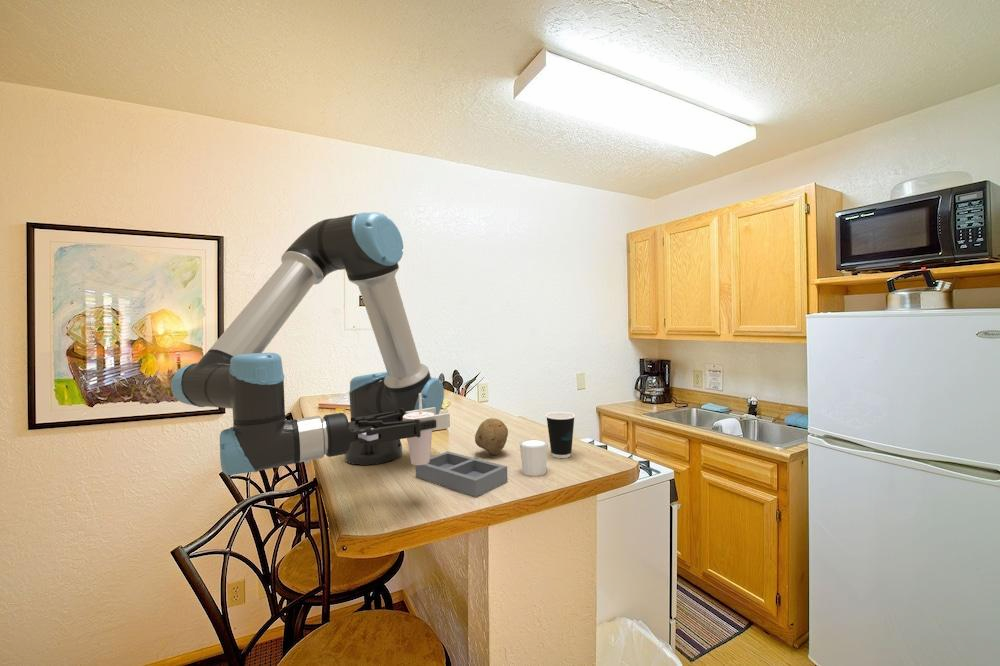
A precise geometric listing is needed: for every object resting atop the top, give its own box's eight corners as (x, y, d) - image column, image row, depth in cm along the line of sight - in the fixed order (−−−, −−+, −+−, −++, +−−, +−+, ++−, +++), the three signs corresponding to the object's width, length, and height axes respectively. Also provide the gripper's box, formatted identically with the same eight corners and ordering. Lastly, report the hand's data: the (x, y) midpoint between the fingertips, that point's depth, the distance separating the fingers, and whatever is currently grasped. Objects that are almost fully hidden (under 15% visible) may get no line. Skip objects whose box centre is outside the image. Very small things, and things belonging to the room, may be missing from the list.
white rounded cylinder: (547, 477, 95) (546, 447, 95) (518, 476, 96) (517, 446, 96) (549, 467, 102) (549, 439, 102) (522, 466, 103) (521, 438, 103)
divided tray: (415, 477, 98) (415, 462, 98) (448, 464, 106) (447, 451, 106) (476, 497, 85) (475, 480, 85) (507, 481, 93) (507, 466, 93)
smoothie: (442, 461, 84) (440, 393, 83) (416, 470, 79) (413, 398, 79) (424, 454, 88) (421, 390, 88) (398, 462, 84) (395, 394, 83)
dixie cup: (572, 461, 105) (571, 419, 105) (542, 458, 108) (541, 417, 108) (579, 452, 112) (578, 412, 112) (551, 449, 116) (550, 411, 115)
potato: (474, 460, 108) (473, 422, 108) (476, 450, 117) (475, 415, 117) (509, 459, 109) (507, 421, 108) (508, 449, 117) (507, 414, 117)
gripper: (316, 444, 82) (425, 425, 95) (335, 473, 66) (463, 445, 78) (314, 407, 82) (423, 392, 94) (332, 426, 66) (462, 406, 78)
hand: (441, 416), depth 86 cm, fingers closed on smoothie, 6 cm apart
